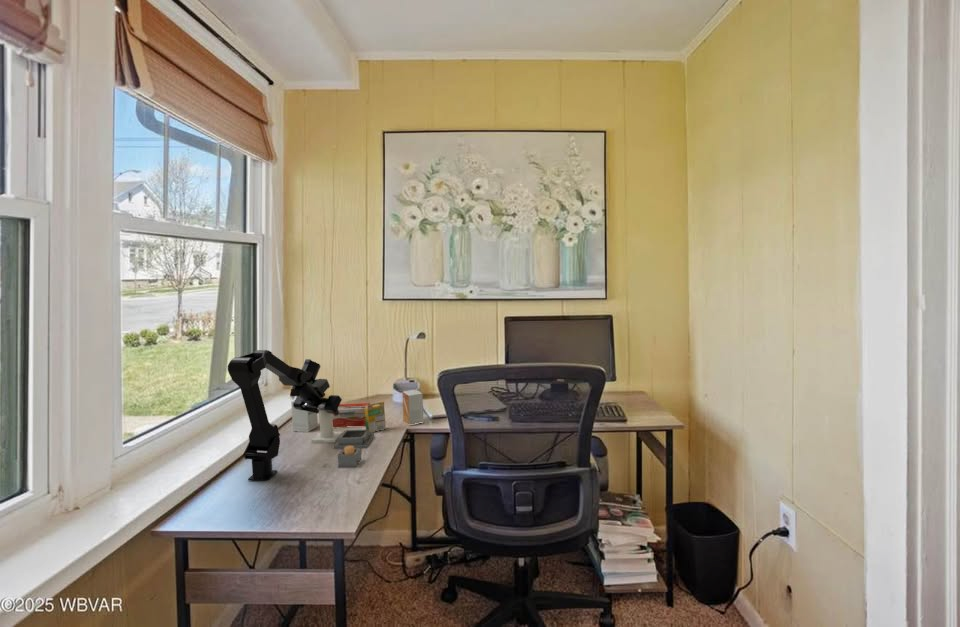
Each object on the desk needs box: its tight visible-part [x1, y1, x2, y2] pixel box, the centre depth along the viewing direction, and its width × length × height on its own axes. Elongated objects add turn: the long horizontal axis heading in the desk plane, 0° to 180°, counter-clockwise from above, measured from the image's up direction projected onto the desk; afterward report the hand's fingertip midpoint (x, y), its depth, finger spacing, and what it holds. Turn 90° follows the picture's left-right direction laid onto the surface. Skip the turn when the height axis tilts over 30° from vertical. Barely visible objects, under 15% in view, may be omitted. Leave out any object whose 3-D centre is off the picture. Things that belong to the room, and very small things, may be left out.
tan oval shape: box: [343, 445, 355, 454], centre depth 157 cm, size 3×3×5 cm
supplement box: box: [290, 400, 319, 433], centre depth 194 cm, size 7×7×13 cm
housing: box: [332, 429, 375, 450], centre depth 177 cm, size 12×12×3 cm
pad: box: [310, 431, 343, 444], centre depth 182 cm, size 9×9×1 cm
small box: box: [401, 389, 425, 425], centre depth 199 cm, size 8×6×13 cm
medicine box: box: [332, 402, 371, 428], centre depth 199 cm, size 15×8×8 cm, turn 94°
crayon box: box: [365, 401, 386, 434], centre depth 189 cm, size 7×3×12 cm, turn 126°
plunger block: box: [337, 448, 362, 468], centre depth 157 cm, size 6×6×4 cm
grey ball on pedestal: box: [318, 404, 334, 438], centre depth 181 cm, size 5×5×12 cm
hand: (328, 413), depth 183 cm, fingers open, 9 cm apart
